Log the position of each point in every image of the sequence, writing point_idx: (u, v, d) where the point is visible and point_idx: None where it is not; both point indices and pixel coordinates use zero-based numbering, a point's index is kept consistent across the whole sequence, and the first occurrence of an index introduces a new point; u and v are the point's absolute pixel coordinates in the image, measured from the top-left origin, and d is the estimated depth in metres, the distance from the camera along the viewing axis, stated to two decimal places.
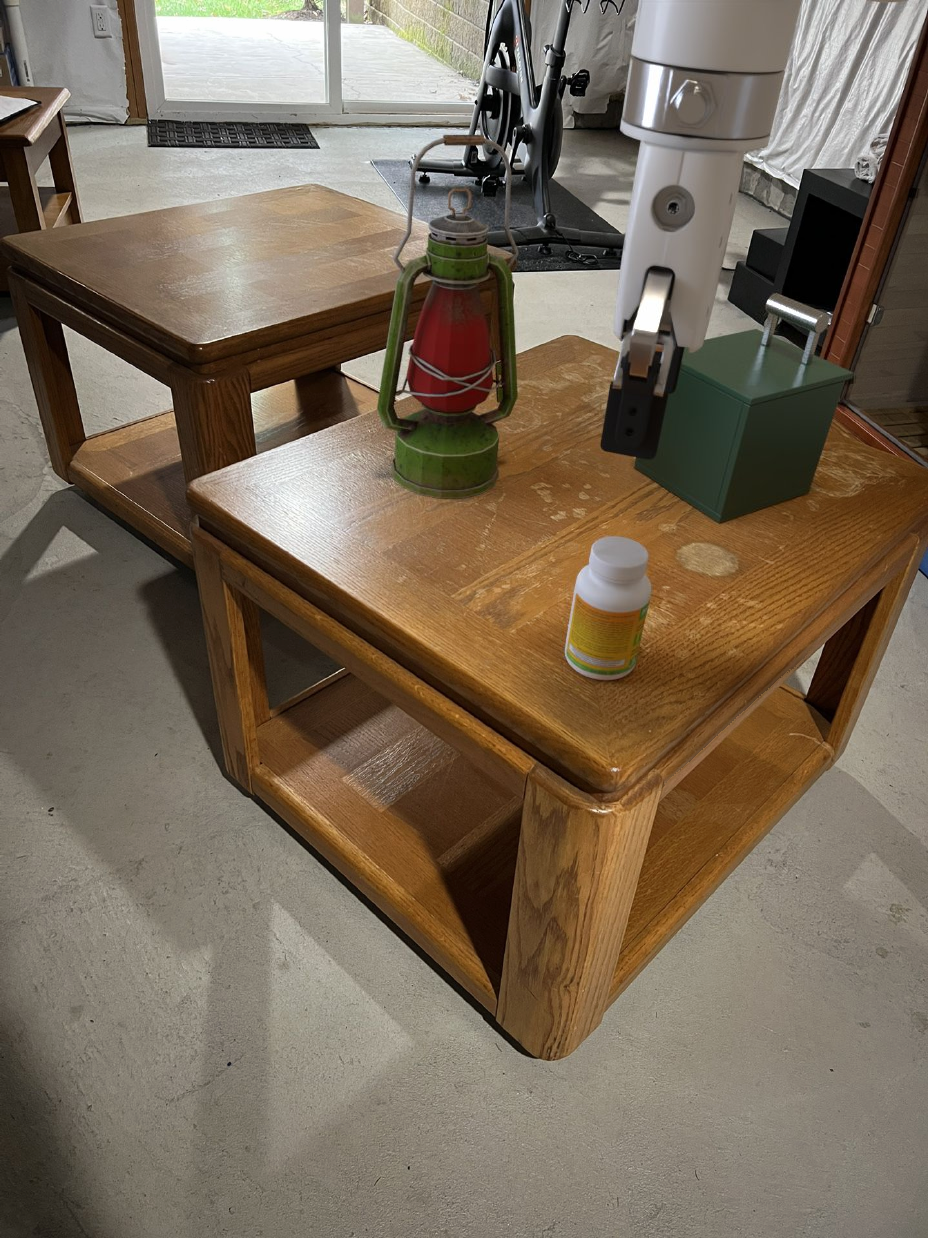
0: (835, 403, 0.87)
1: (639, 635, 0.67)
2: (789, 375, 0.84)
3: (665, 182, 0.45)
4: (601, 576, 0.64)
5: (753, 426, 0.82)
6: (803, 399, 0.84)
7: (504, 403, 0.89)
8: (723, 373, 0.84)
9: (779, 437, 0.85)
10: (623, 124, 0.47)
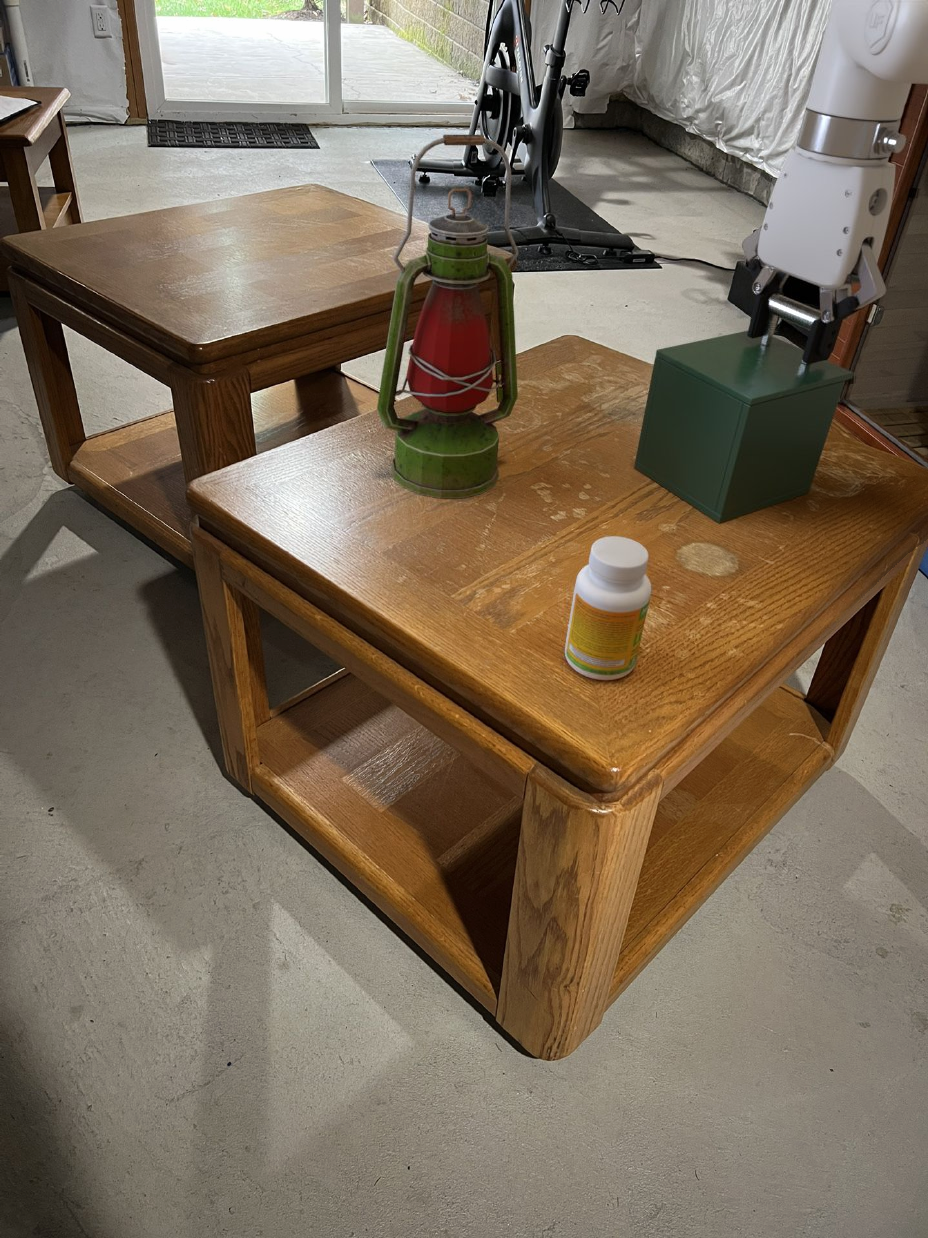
0: (835, 403, 0.87)
1: (639, 635, 0.67)
2: (789, 375, 0.84)
3: (876, 187, 0.76)
4: (601, 575, 0.64)
5: (753, 426, 0.82)
6: (803, 399, 0.84)
7: (504, 403, 0.89)
8: (723, 373, 0.84)
9: (779, 437, 0.85)
10: (828, 157, 0.75)
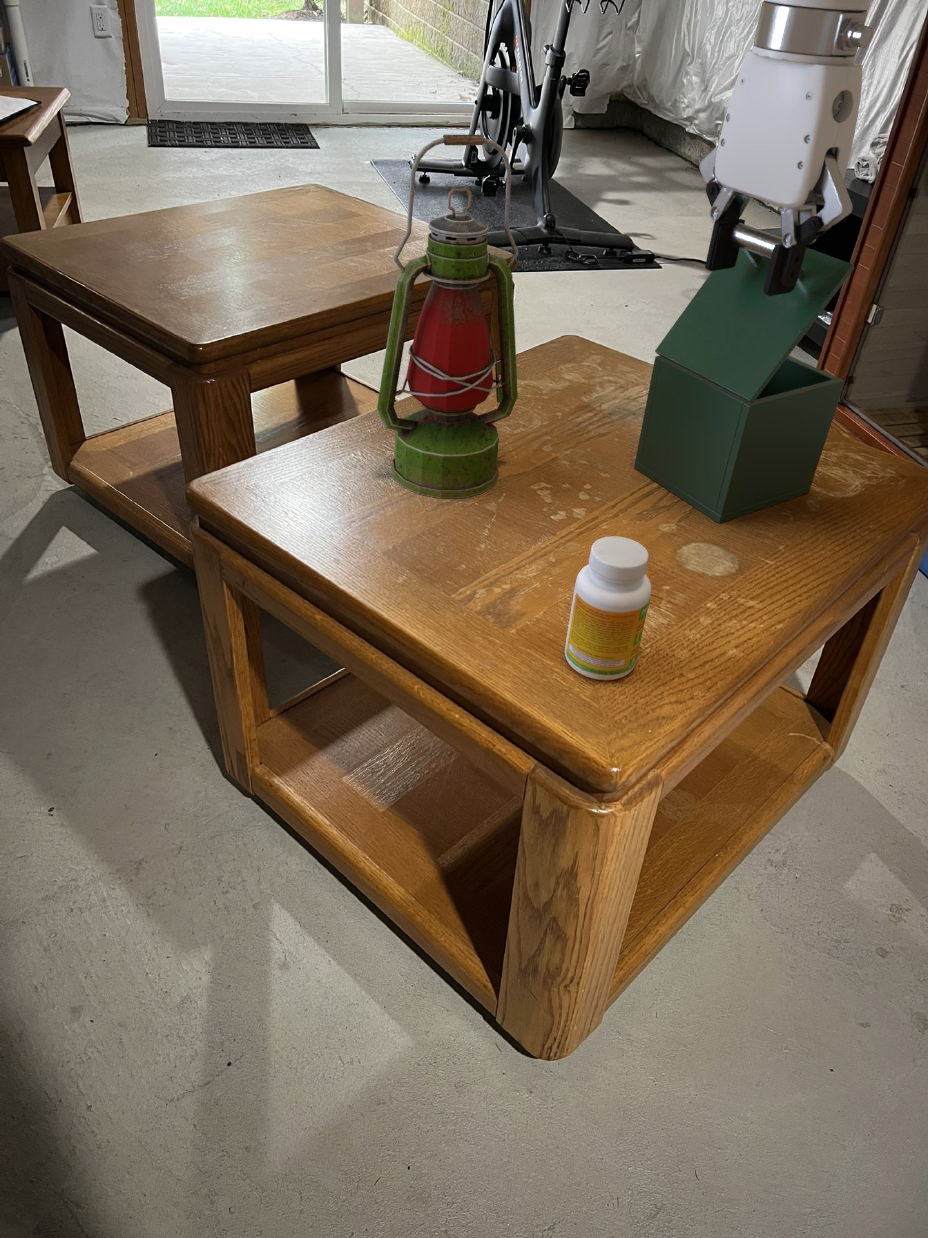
0: (835, 403, 0.87)
1: (639, 635, 0.67)
2: (784, 320, 0.80)
3: (840, 89, 0.68)
4: (601, 576, 0.64)
5: (753, 426, 0.82)
6: (803, 399, 0.84)
7: (504, 403, 0.89)
8: (719, 361, 0.83)
9: (779, 437, 0.85)
10: (786, 54, 0.67)
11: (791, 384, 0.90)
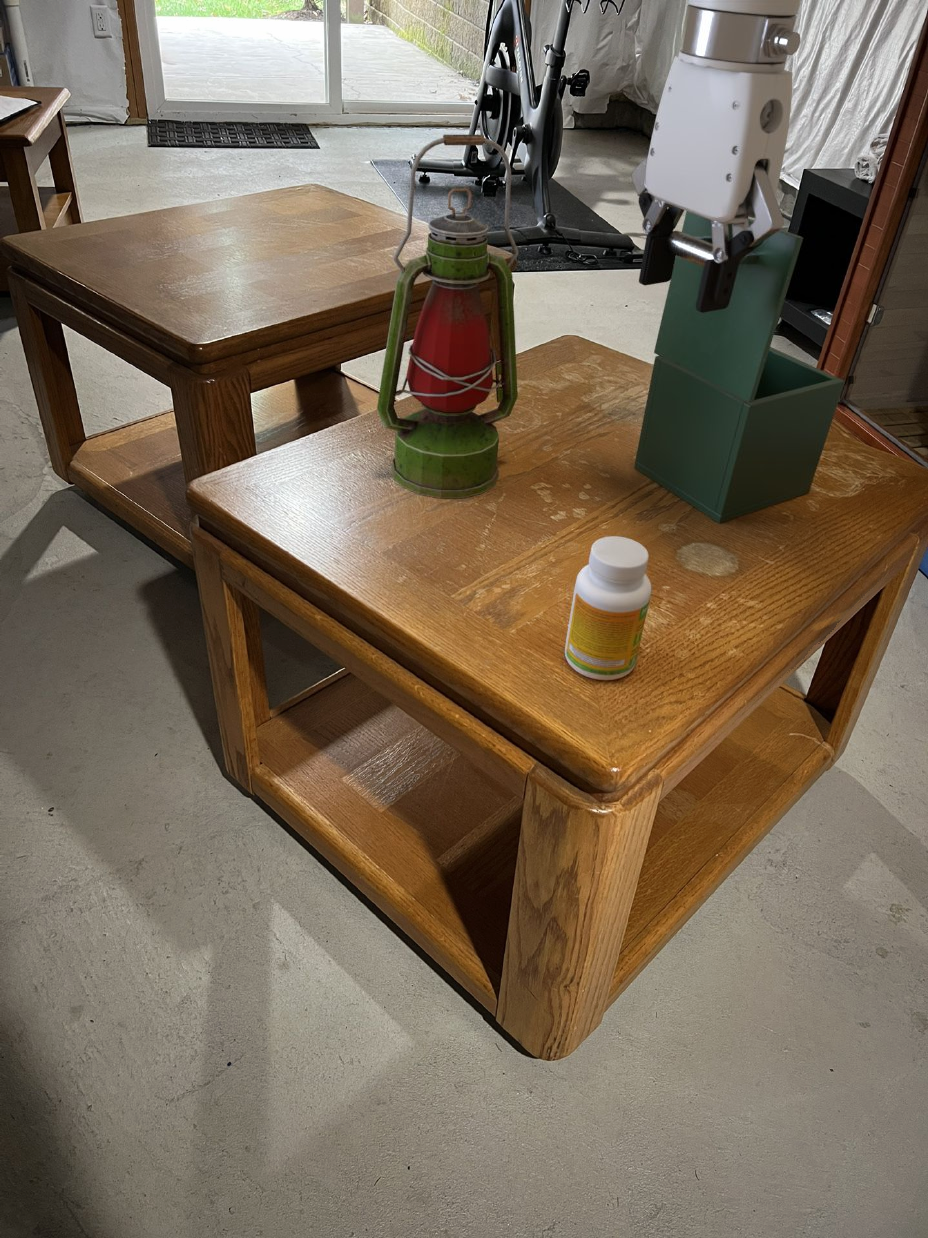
0: (835, 403, 0.87)
1: (639, 635, 0.67)
2: (754, 310, 0.77)
3: (768, 98, 0.64)
4: (601, 576, 0.64)
5: (753, 426, 0.82)
6: (803, 399, 0.84)
7: (504, 403, 0.89)
8: (711, 360, 0.82)
9: (779, 437, 0.85)
10: (711, 61, 0.64)
11: (791, 384, 0.90)
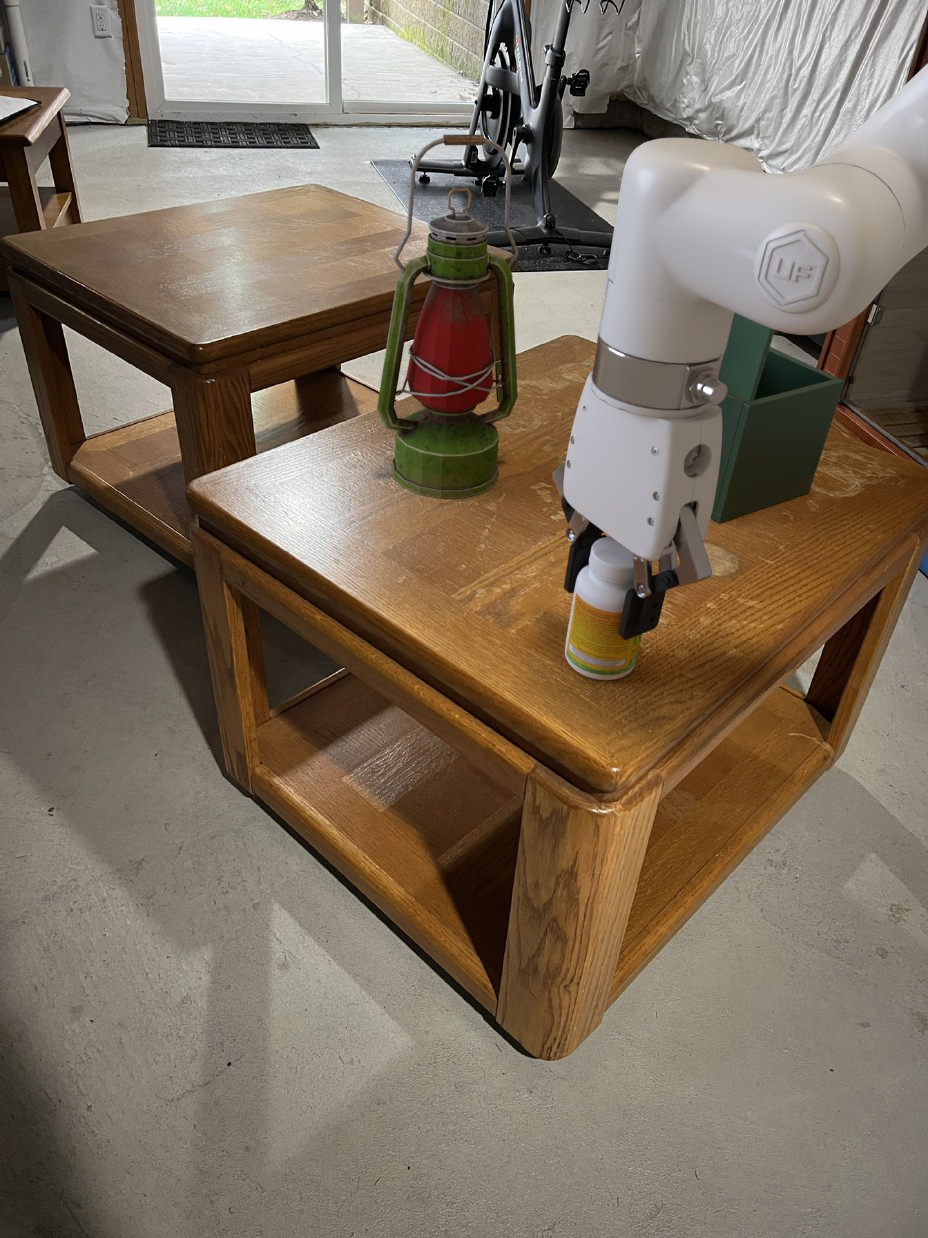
0: (835, 403, 0.87)
1: (639, 635, 0.67)
2: None
3: (692, 445, 0.55)
4: (601, 576, 0.64)
5: (753, 426, 0.82)
6: (803, 399, 0.84)
7: (504, 403, 0.89)
8: None
9: (779, 437, 0.85)
10: (625, 405, 0.54)
11: (791, 384, 0.90)
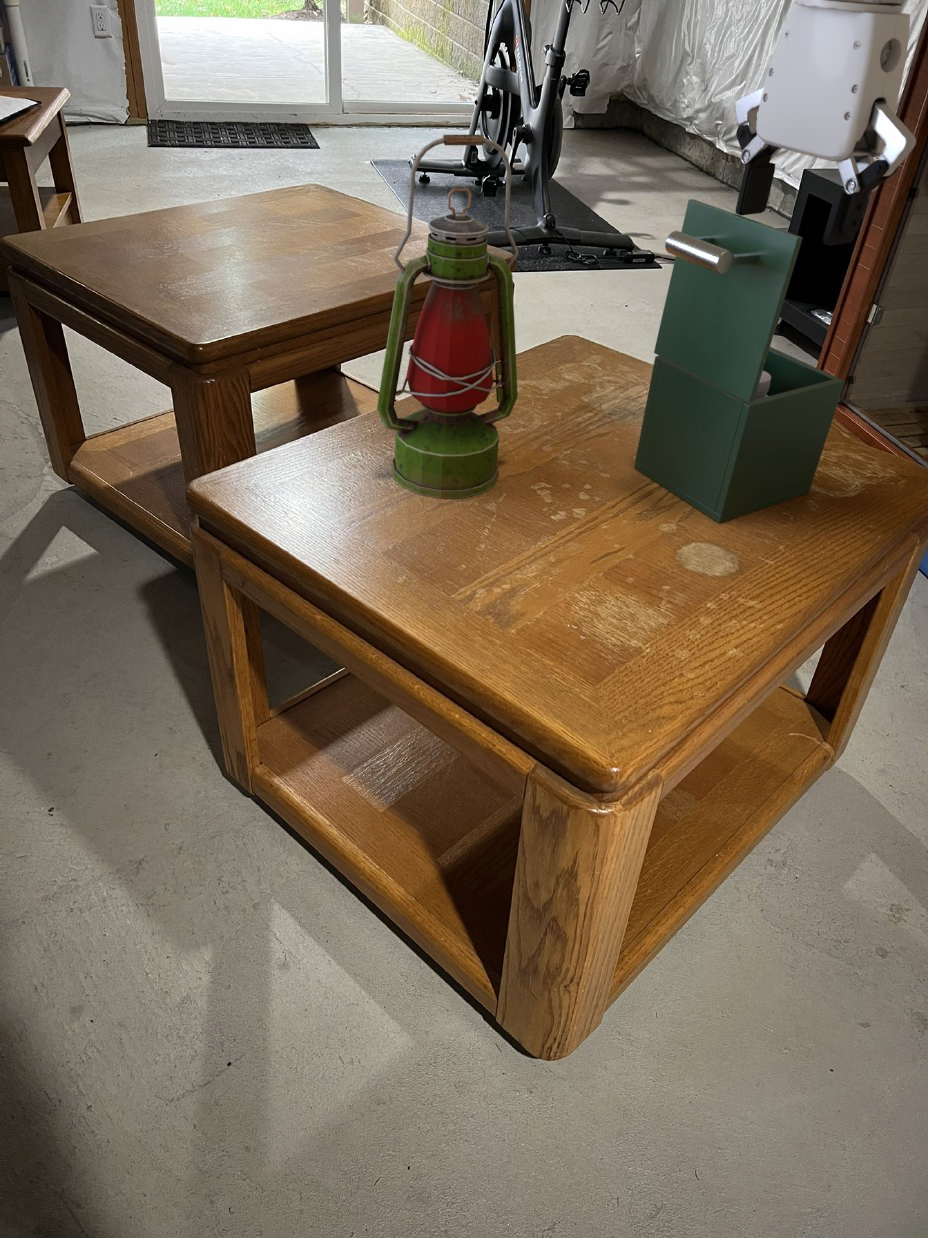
0: (835, 403, 0.87)
1: None
2: (753, 310, 0.77)
3: (888, 37, 0.68)
4: None
5: (753, 426, 0.82)
6: (803, 399, 0.84)
7: (504, 403, 0.89)
8: (711, 360, 0.82)
9: (779, 437, 0.85)
10: (835, 3, 0.67)
11: (791, 384, 0.90)
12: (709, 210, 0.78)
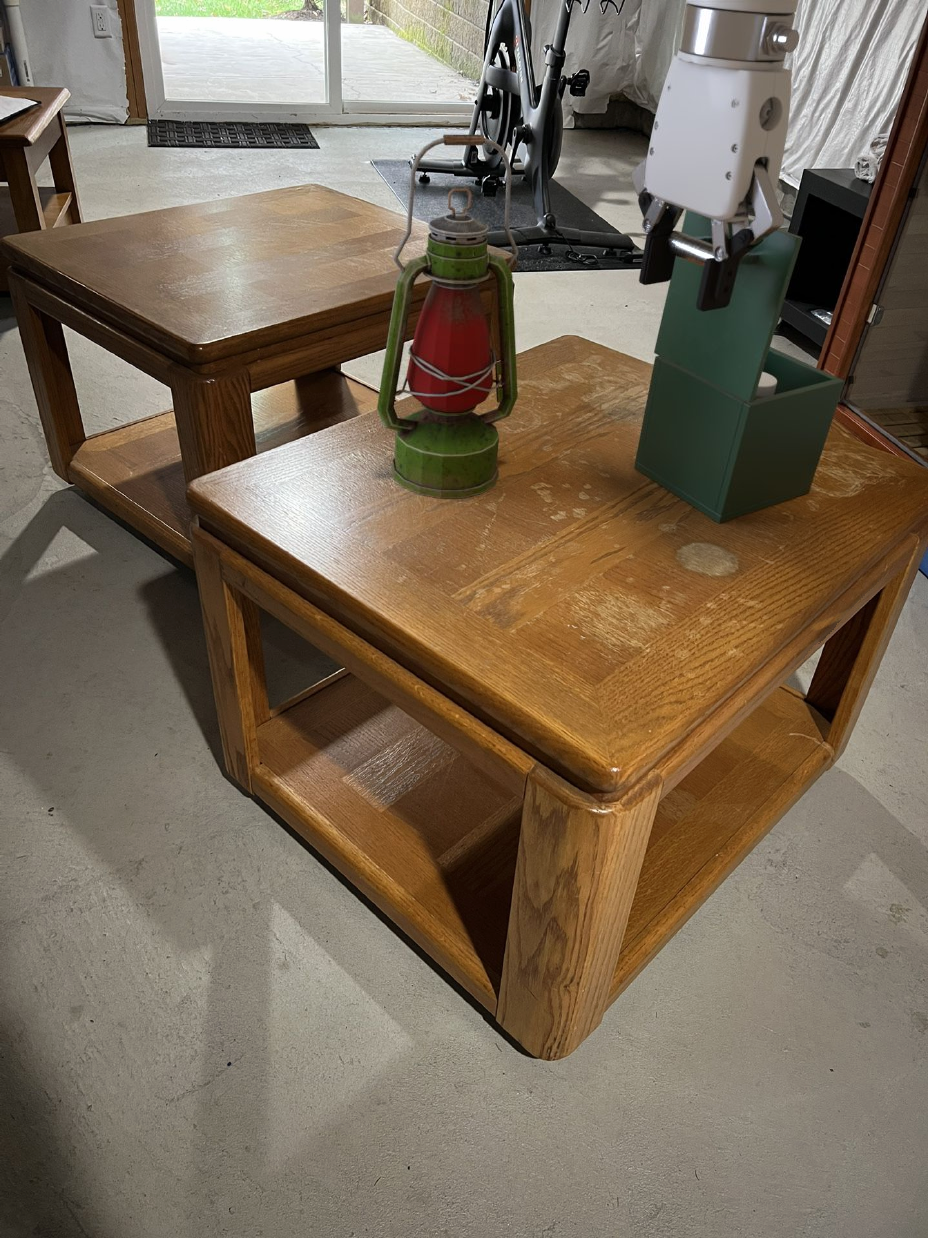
0: (835, 403, 0.87)
1: None
2: (753, 310, 0.77)
3: (767, 95, 0.64)
4: None
5: (753, 426, 0.82)
6: (803, 399, 0.84)
7: (504, 403, 0.89)
8: (711, 360, 0.82)
9: (779, 437, 0.85)
10: (710, 60, 0.64)
11: (791, 384, 0.90)
12: None
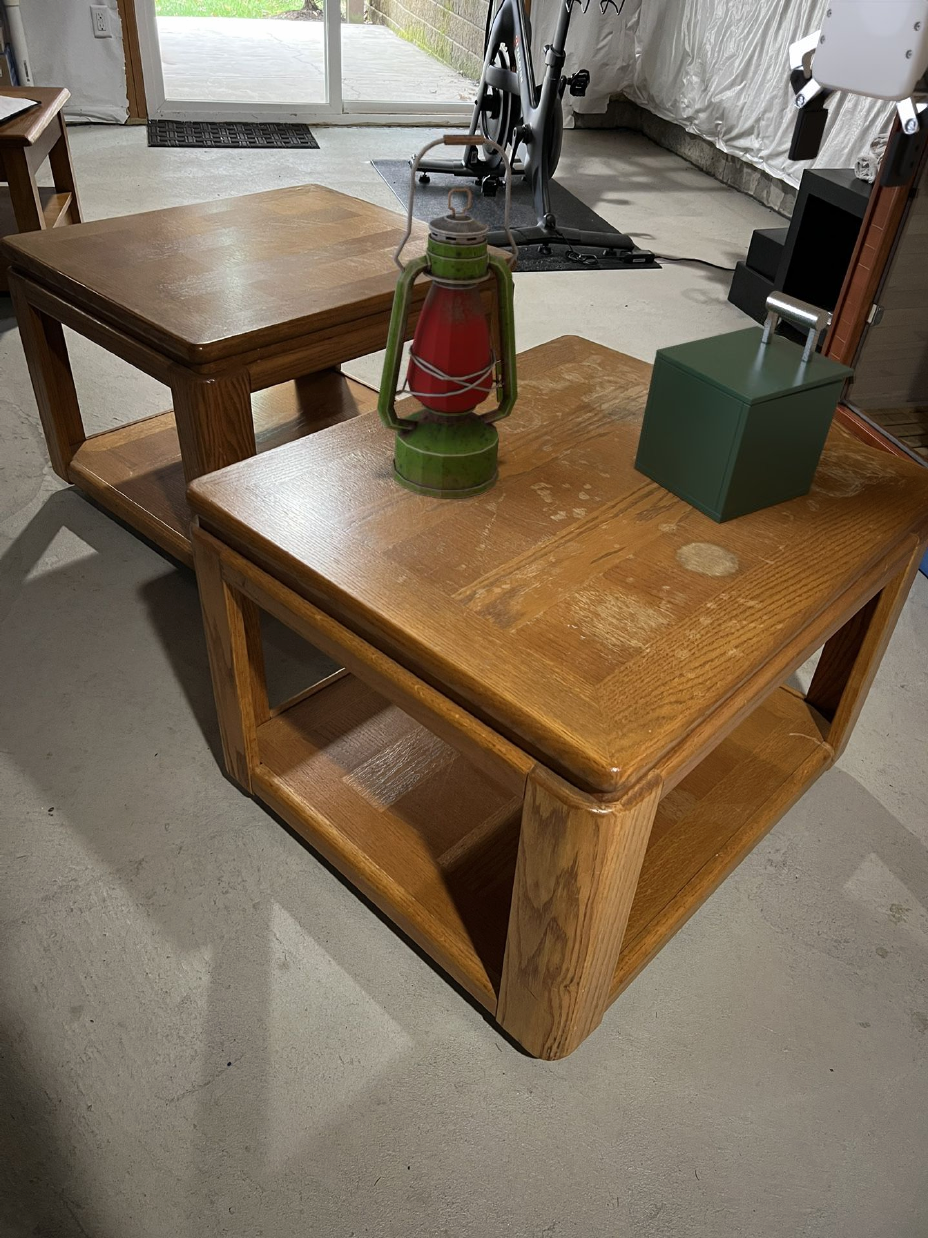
0: (835, 403, 0.87)
1: None
2: (789, 373, 0.84)
3: None
4: None
5: (753, 426, 0.82)
6: (803, 399, 0.84)
7: (504, 403, 0.89)
8: (723, 373, 0.84)
9: (779, 437, 0.85)
10: None
11: None
12: (774, 334, 0.92)
